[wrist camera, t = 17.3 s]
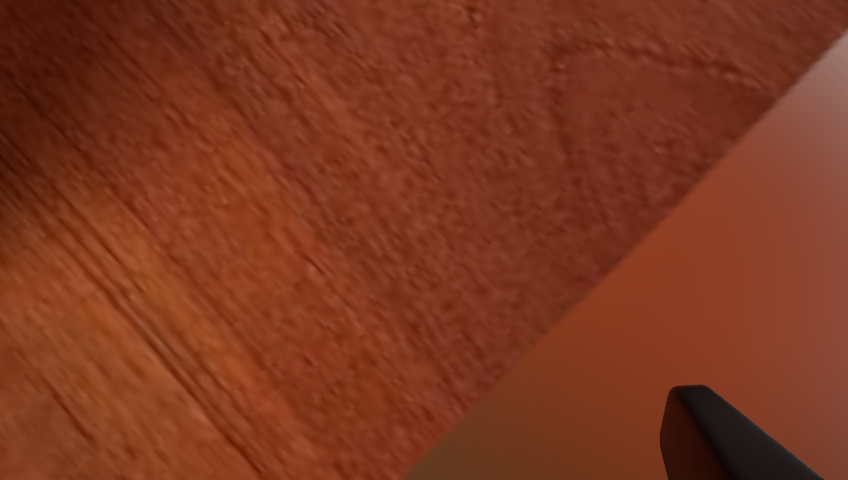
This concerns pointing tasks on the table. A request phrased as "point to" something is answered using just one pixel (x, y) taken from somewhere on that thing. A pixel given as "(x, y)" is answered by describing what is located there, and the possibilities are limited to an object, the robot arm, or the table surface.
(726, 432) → the robot arm
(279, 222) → the table surface
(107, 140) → the table surface
